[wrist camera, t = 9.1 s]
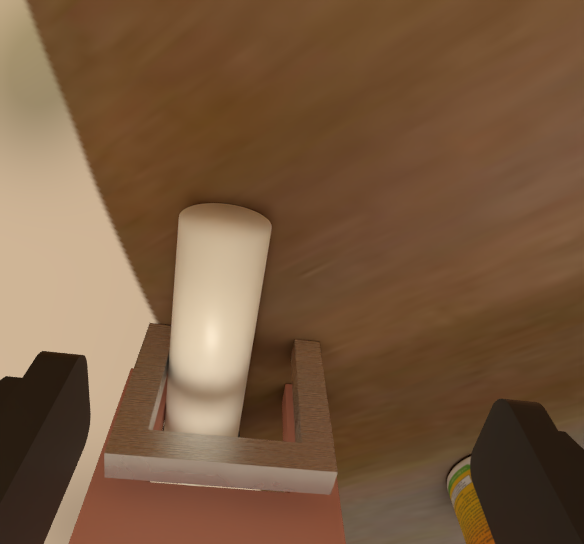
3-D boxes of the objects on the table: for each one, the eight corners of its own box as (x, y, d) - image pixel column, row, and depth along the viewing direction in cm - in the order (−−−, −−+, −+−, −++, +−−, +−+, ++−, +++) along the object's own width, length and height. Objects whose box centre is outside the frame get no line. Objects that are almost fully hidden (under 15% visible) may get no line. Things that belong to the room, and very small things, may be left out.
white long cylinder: (222, 195, 28) (155, 215, 24) (292, 226, 25) (230, 252, 22) (198, 418, 35) (144, 457, 32) (250, 455, 33) (199, 502, 29)
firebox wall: (324, 387, 33) (350, 576, 22) (311, 438, 35) (329, 632, 25) (131, 368, 32) (62, 559, 21) (130, 422, 34) (67, 620, 23)
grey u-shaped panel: (319, 341, 31) (337, 472, 23) (314, 361, 32) (330, 494, 24) (149, 323, 30) (104, 453, 22) (148, 343, 31) (104, 477, 22)
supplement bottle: (455, 508, 39) (507, 653, 31) (436, 464, 37) (486, 608, 28) (526, 486, 38) (599, 629, 30) (510, 440, 36) (585, 581, 27)
